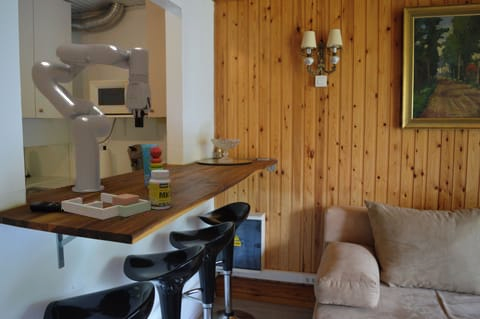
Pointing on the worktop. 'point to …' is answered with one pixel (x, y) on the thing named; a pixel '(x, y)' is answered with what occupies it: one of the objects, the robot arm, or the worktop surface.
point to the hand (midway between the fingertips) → (139, 127)
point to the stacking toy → (155, 161)
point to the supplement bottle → (160, 189)
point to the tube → (147, 160)
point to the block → (125, 200)
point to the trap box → (100, 213)
